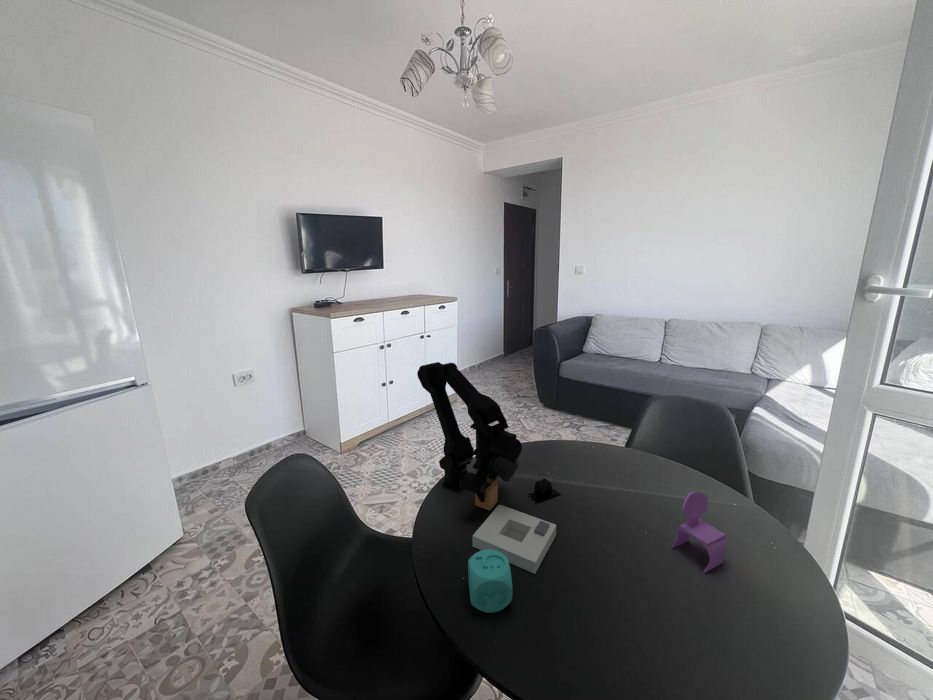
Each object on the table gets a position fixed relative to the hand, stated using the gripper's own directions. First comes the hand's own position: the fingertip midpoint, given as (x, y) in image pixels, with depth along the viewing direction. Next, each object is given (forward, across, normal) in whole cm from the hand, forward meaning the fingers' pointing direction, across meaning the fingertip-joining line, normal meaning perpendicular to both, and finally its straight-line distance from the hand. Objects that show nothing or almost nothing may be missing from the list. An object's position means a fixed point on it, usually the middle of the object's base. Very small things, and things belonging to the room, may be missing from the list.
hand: (486, 497), depth 106 cm
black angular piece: (+3, +12, -12) cm, 18 cm away
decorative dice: (+2, -26, -15) cm, 30 cm away
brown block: (+2, 0, 0) cm, 2 cm away
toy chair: (+2, +8, -51) cm, 52 cm away
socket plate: (+2, -9, -13) cm, 16 cm away
